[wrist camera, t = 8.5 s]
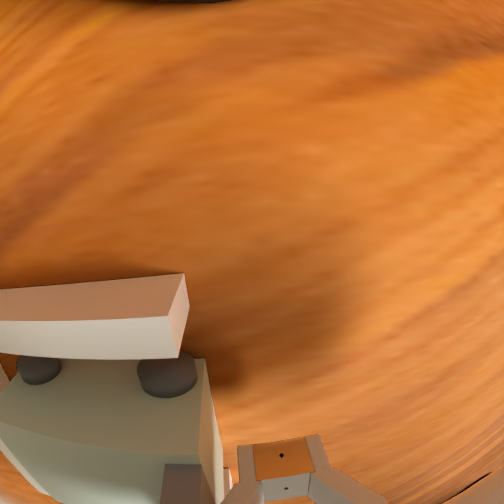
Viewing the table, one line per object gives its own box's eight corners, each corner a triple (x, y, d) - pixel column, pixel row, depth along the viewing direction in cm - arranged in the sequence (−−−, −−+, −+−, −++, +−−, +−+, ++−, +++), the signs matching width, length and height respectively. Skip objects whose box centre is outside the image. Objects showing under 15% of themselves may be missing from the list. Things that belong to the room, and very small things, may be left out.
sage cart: (224, 456, 12) (229, 558, 6) (83, 446, 12) (55, 528, 6) (202, 345, 10) (190, 490, 4) (29, 341, 10) (-43, 427, 4)
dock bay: (231, 478, 13) (234, 520, 10) (52, 461, 12) (39, 492, 9) (184, 273, 9) (167, 315, 7) (-40, 292, 9) (-76, 316, 6)
